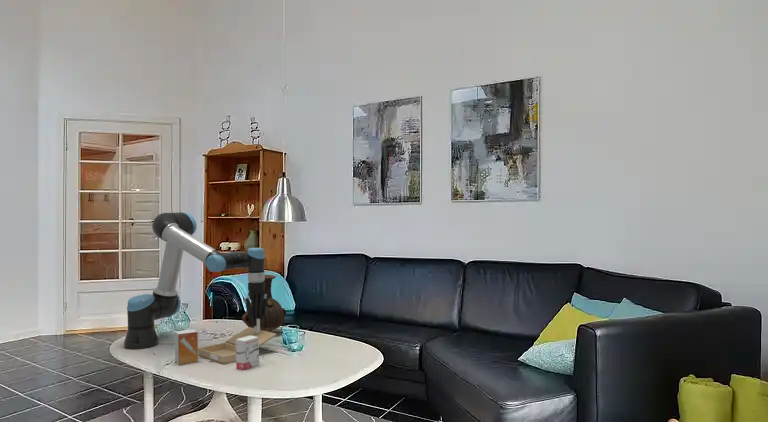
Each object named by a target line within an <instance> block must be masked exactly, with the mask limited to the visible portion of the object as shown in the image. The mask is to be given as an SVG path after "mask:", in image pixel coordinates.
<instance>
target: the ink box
mask: <svg viewBox="0 0 768 422" xmlns="http://www.w3.org/2000/svg"><path fill="white" fill-rule="evenodd" d="M235 346H236V366H235V368H236V369H238V370H243V371H246V370H248V369H250V368H251V369H252V368H254V367H257V366H259V365H260V349H259V348H260V346H259V337H256V336H246V337H242V338H239V339H237V340H236V345H235Z"/></svg>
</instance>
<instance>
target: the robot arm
mask: <svg viewBox="0 0 768 422" xmlns="http://www.w3.org/2000/svg"><path fill="white" fill-rule="evenodd" d="M196 221H197V220H196V219H195V218H194V216H193V215H192V214H190V213H188V212H183V211H182V212H181V211H180V212H178V211H177V212H162V213H159V214H158V215H157V216H155V218H154V219H153V221H152V225H151V228H152V232H153V233H154V235H155V236H156V237H157V238H159V239H160V240H162V241H164V242H165V248H164V253H163V257H162V261H161V266H160V267H161V268H160V272H159V276H158V277H159V278H158V283H157V286H156V287H155V288H154V289H153V291H152V294H149V293H147V294H145V293H144V294H140V295H135V296H132V297H131V298H129V299H128V300H127V306H126V311H127V313H126V314H127V332H126V335H125V339H124V341H123V347H124V348H125V349H129V350H141V349H148V348H152V347H155V346H158V344H159V343H160V342H159V336H158V334H157V331H156V327H155V321H157V320H160V319H161V320H162V319H164V318H169V317H173V316H175V315H176V314H177V313H178V312H179V310H180V308H181V297H180V296H179V292H178V290H177V284H178V283H177V282H178V278H179V274H180V268H181V263H182V259H183V255H184V251H185V252H186V253H188V254H189V255H191V256H193V258H196V259H197V260H199V261H201V262H202V263H204V264H205V267H206V269H207V270H208V271H209V272H211V273H212V272H213V273H220V272H223V271H229V270H234V269H247V282H248V283H247V291H248V293H247V296H246V297H244V298H243V299H242V300H243V302H244V304H245V308H246V311H247V313H248V317H249V318H252V320H253V326H254V333H257V334H258V333H260V325H261V319H262V318H263V316H265V313H266V307H267V302H268V299H269V297H270V296H269V295H266V294H265V291H264V289H265V282H263V281H264V280H265V275H266V273H265V257H266V256H265V250H264V248H263V247H249V248H247V251H244V252H243V251H236V250H235V251H229V252H227V253H222V252H220V251H218V250H216V249H215V248H213V247H212V246H210V245H208V244H207V243H205V242H203V241H202V240H200V239H198V238H197V237H195V236H193V234H195V233H196V231H197V222H196ZM262 299H263V300H262ZM251 304H252V307H251Z"/></svg>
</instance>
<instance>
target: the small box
mask: <svg viewBox="0 0 768 422" xmlns="http://www.w3.org/2000/svg"><path fill="white" fill-rule="evenodd" d="M198 335H199V333H198V331H197V330H196V329H194V328H192V329H184V330H183V329H182V330H177V331H174V362H175V363H176V364H177V365H178V366H179V365H180V366H181V365H186V364H195V363H198V361H199V360H198V359H199V356H198V348H199V344H198V343H199V342H198V341H199V340H198Z"/></svg>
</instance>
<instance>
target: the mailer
mask: <svg viewBox="0 0 768 422" xmlns="http://www.w3.org/2000/svg"><path fill="white" fill-rule="evenodd" d="M198 357H201V358H204V359H206V358H207V359H206V360H209V359H210V361H213V362H215V363H218V364H220V365H221V364H222V365H229V364H232V363H235V362H236V345H232V344H229V343H226V342H221V343H217V344H212V345H208V346H204V347H203V346H202V347H198Z"/></svg>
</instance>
